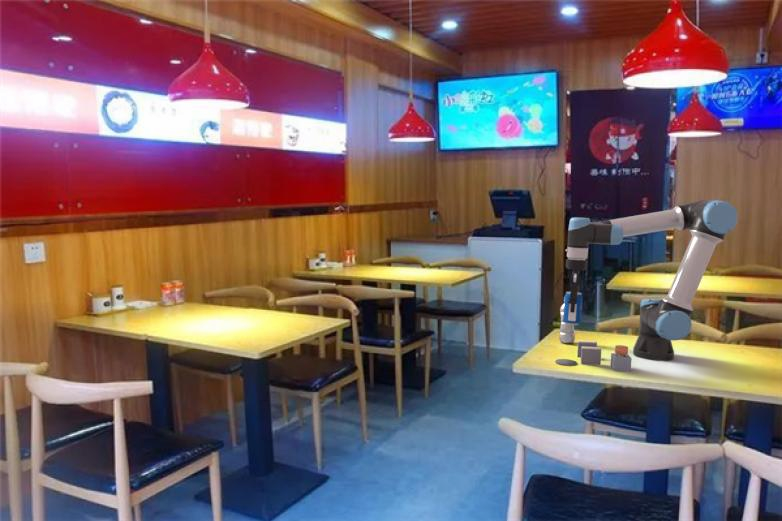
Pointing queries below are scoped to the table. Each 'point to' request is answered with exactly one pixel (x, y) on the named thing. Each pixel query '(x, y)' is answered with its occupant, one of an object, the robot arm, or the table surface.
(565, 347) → the table surface
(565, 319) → the beverage can
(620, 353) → the plunger
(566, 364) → the pad
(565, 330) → the plastic bottle
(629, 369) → the block
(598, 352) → the cradle
